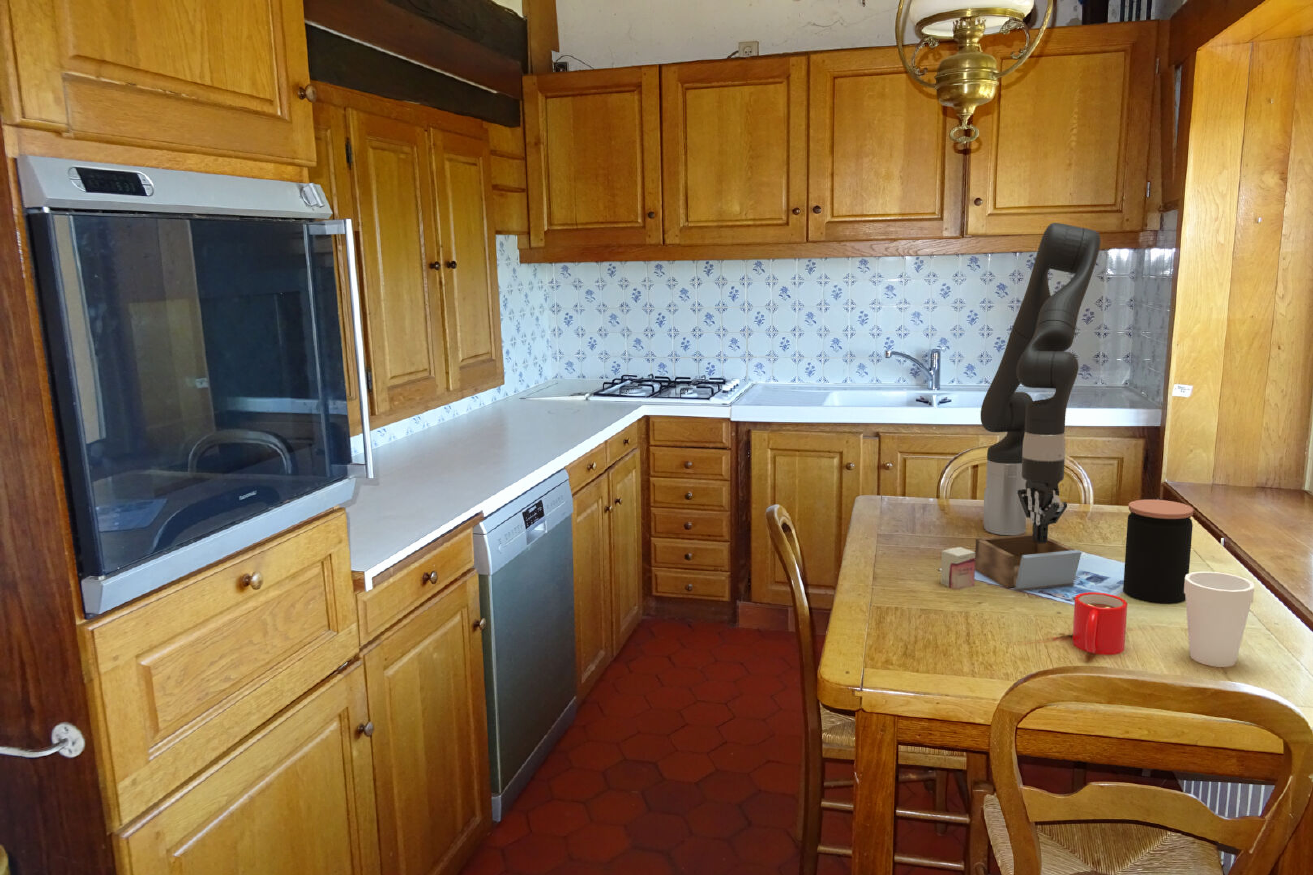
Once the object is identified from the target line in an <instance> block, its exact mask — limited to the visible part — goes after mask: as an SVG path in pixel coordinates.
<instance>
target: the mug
mask: <svg viewBox="0 0 1313 875" xmlns="http://www.w3.org/2000/svg"><path fill="white" fill-rule="evenodd" d="M1073 607H1074V608H1073V626H1072V639H1071V640H1072V645H1073V646H1074V647H1075V648H1077V649H1079V650H1081V651H1084V652H1087V653H1089V654H1095V655H1103V656H1104V655H1105V656H1107V655H1108V656H1110V655H1111V656H1112V655H1119V654H1121V653H1123V652H1124V651H1125V647H1126V646H1125V645H1126V630H1127V616H1128V602H1127V601H1126V600H1125V599H1124V598H1122V597H1120V596H1117V595H1113V594H1111V593H1110V594H1109V593H1106V592H1105V593H1104V592H1093V591H1091V592H1082V593H1079V594H1077V595H1075V597H1074V605H1073Z"/></svg>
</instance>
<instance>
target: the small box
mask: <svg viewBox="0 0 1313 875" xmlns="http://www.w3.org/2000/svg"><path fill="white" fill-rule="evenodd" d="M940 560H941V562H940V563H941V564H940V565H941V566H940V567H941V569H940V585H942V586H945V587H948V588H950V589H953V590H961V589H965V588H969V587H973V586H975V574H976V573H975V571H976V570H975V551H973V550H970V549H968V548H965V547H961V546H957V547H953V548H951V547H950V548H948V549H945V550H941V559H940Z"/></svg>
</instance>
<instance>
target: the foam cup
mask: <svg viewBox="0 0 1313 875" xmlns="http://www.w3.org/2000/svg"><path fill="white" fill-rule="evenodd" d="M1254 591H1255V583H1253V582H1252V581H1251V580H1249V579H1247V578H1244V577H1241V576H1239V575H1235V574H1230V573H1225V572H1219V571H1209V570H1208V571H1207V570H1206V571H1203V570H1202V571H1193V572H1189V574H1186V576H1185V583H1184V593H1185V597H1186V600H1185V608H1186V609H1185V610H1186V621H1187V622H1186V624H1187V635H1188V636H1187V638H1188V649H1189V650H1188V651H1189V656H1190V658H1191V659H1192V660H1193V659H1194V660H1193V661H1196V662H1197V663H1200V664H1203V665H1205V666H1210V667H1217V668H1228V667H1232V666H1235V665H1236V661H1237V660H1238V656H1239V651H1240V648H1241V644H1242V640H1243V637H1244V632H1245V628H1246V625H1247V619H1248V616H1249V613H1250V609H1251V605H1252V604H1253V603H1254Z"/></svg>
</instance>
